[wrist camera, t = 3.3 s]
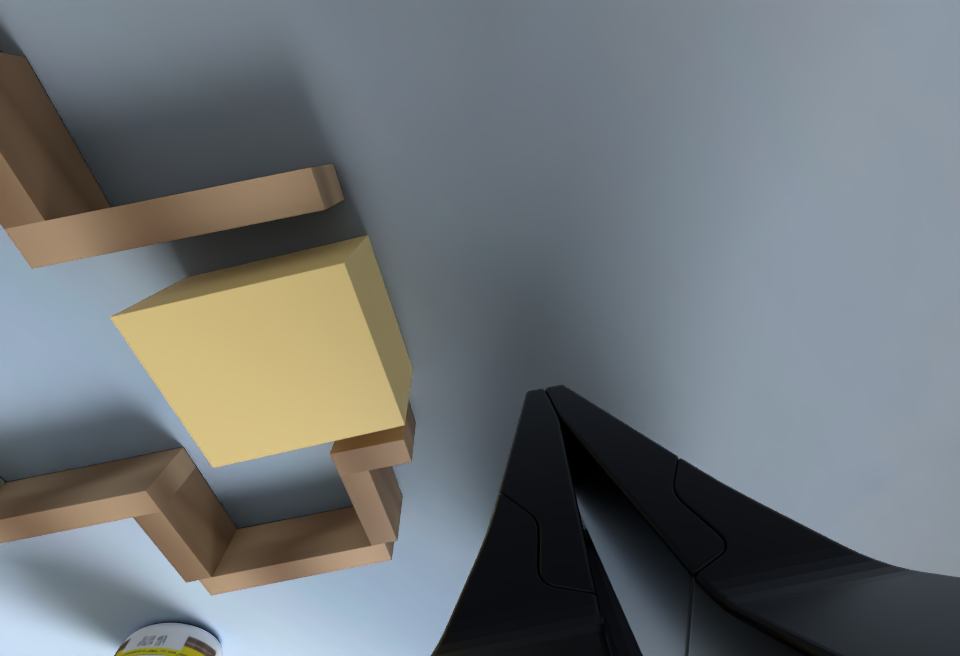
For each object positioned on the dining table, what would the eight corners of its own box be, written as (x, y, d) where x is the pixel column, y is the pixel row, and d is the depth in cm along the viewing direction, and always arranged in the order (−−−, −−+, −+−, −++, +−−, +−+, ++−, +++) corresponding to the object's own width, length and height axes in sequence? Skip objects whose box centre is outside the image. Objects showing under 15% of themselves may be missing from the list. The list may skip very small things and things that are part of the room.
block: (368, 233, 15) (344, 262, 11) (413, 366, 17) (405, 425, 14) (190, 275, 15) (110, 317, 11) (260, 401, 18) (213, 467, 14)
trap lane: (266, -48, 11) (220, -97, 9) (441, 505, 21) (441, 549, 19) (-421, 92, 11) (-639, 79, 9) (72, 578, 21) (27, 631, 19)
